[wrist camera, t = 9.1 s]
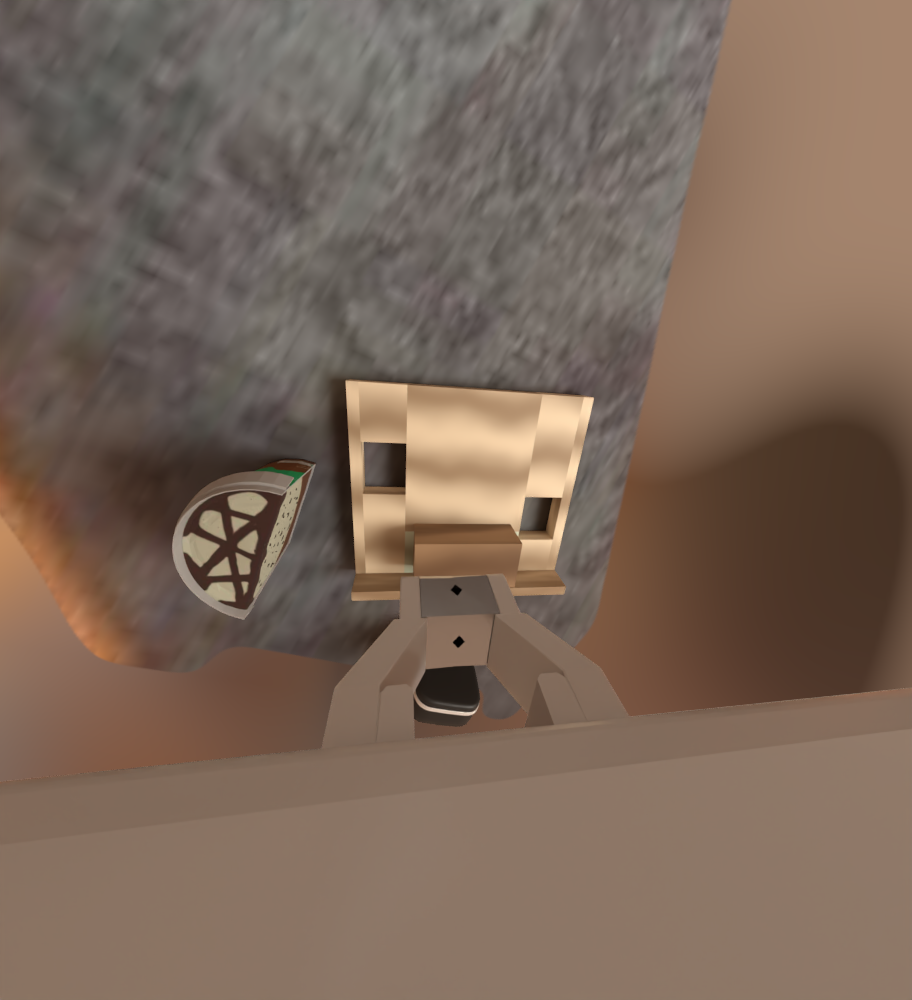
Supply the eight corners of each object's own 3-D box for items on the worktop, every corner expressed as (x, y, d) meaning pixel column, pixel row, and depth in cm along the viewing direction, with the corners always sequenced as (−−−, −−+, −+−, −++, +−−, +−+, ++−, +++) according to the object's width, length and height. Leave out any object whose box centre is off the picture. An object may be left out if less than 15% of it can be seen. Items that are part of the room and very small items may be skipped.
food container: (250, 421, 29) (178, 451, 20) (320, 449, 31) (284, 487, 22) (221, 536, 33) (150, 604, 24) (285, 554, 34) (242, 624, 25)
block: (414, 523, 33) (415, 544, 29) (510, 524, 34) (522, 543, 31) (412, 565, 35) (413, 589, 31) (503, 564, 36) (514, 587, 33)
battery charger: (404, 634, 41) (402, 728, 31) (414, 611, 40) (416, 701, 29) (455, 644, 43) (470, 736, 32) (466, 622, 42) (486, 710, 31)
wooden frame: (349, 379, 29) (338, 383, 24) (583, 395, 32) (612, 401, 27) (358, 570, 36) (351, 600, 32) (546, 567, 40) (563, 594, 35)
